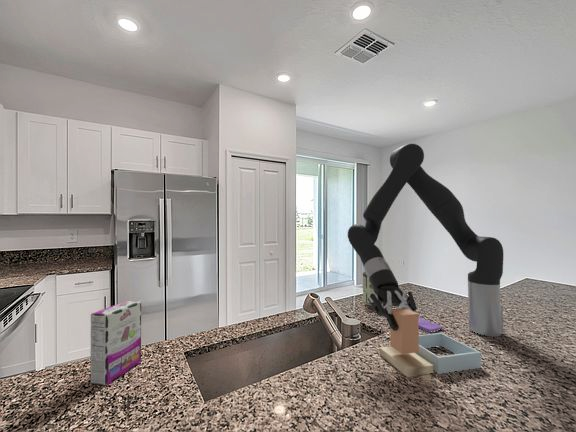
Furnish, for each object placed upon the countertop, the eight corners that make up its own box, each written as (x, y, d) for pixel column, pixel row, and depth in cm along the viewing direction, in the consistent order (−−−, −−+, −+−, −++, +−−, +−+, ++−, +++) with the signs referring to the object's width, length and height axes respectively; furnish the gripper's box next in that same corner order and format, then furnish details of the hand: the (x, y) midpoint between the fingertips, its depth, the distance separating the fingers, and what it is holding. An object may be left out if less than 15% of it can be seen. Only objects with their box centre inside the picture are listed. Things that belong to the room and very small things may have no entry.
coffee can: (381, 300, 134) (380, 271, 135) (388, 306, 124) (388, 275, 124) (360, 300, 134) (360, 271, 135) (365, 306, 124) (365, 275, 125)
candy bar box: (125, 360, 74) (127, 299, 74) (141, 362, 73) (142, 301, 73) (87, 384, 63) (89, 312, 64) (105, 386, 62) (107, 314, 63)
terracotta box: (406, 344, 76) (405, 308, 76) (418, 352, 71) (418, 313, 72) (390, 345, 75) (390, 309, 75) (402, 354, 70) (401, 315, 70)
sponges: (415, 320, 108) (415, 315, 108) (444, 331, 96) (444, 326, 96) (401, 322, 105) (401, 317, 105) (430, 334, 94) (430, 329, 94)
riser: (402, 351, 80) (402, 344, 80) (433, 373, 68) (433, 365, 68) (379, 354, 78) (379, 347, 78) (407, 377, 66) (407, 368, 66)
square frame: (441, 345, 84) (441, 332, 84) (481, 367, 71) (480, 352, 71) (404, 350, 81) (404, 336, 81) (438, 374, 68) (438, 357, 68)
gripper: (363, 268, 81) (387, 324, 69) (405, 267, 84) (435, 320, 72) (355, 283, 86) (376, 337, 74) (395, 281, 89) (421, 332, 77)
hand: (405, 328), depth 73 cm, fingers closed on terracotta box, 5 cm apart
